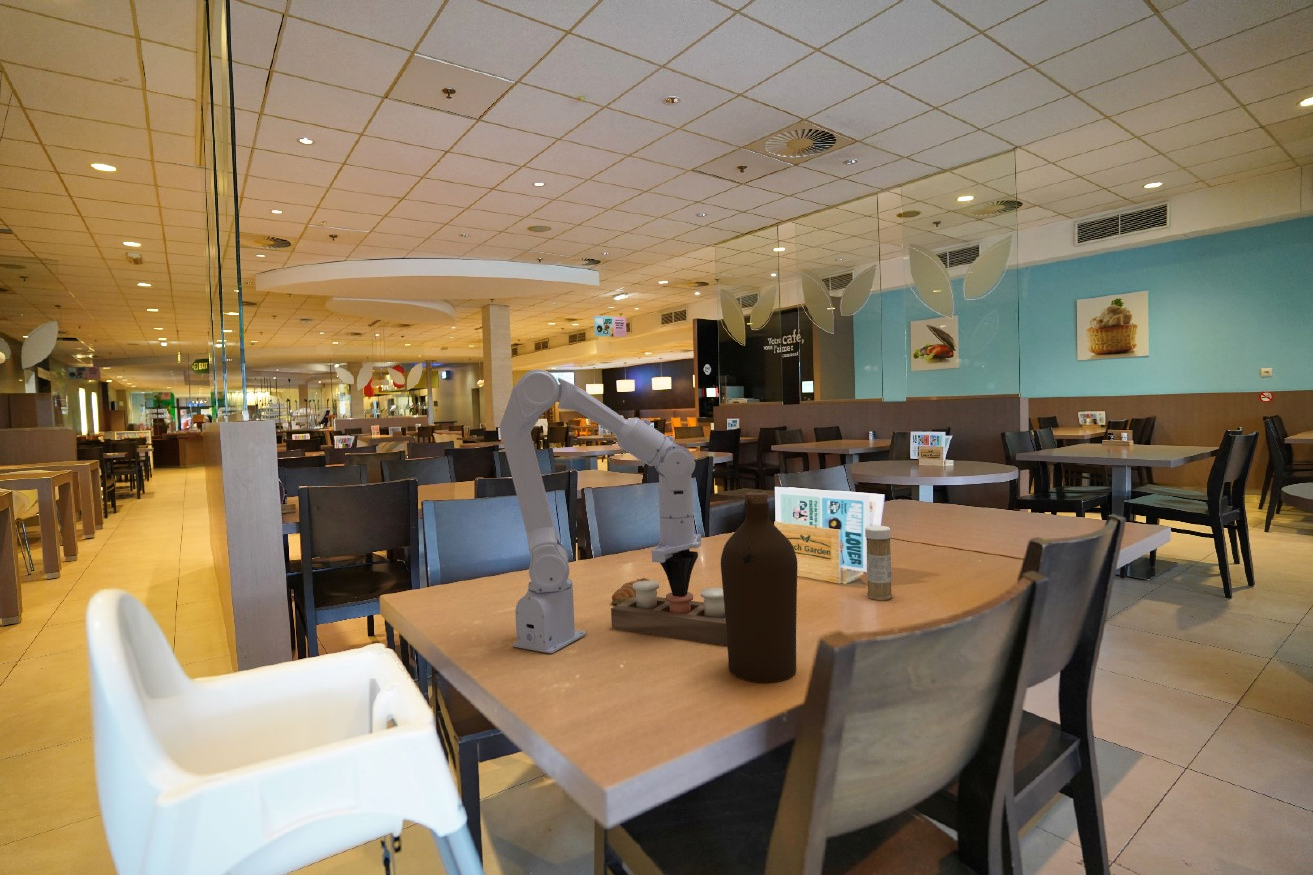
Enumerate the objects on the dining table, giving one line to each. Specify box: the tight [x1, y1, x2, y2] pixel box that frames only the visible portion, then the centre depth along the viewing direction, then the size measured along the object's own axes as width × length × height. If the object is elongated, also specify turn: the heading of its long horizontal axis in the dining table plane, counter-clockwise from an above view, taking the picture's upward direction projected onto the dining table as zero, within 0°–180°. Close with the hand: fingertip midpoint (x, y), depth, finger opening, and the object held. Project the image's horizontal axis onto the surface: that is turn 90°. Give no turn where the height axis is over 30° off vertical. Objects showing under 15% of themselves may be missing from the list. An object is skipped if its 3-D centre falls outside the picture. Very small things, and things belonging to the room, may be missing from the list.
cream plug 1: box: [633, 580, 660, 609], centre depth 114 cm, size 5×5×4 cm
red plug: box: [665, 591, 694, 614], centre depth 111 cm, size 5×5×4 cm
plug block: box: [610, 596, 727, 647], centre depth 111 cm, size 9×22×4 cm, turn 61°
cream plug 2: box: [700, 587, 725, 618], centre depth 108 cm, size 5×5×4 cm
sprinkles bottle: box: [864, 525, 893, 601], centre depth 124 cm, size 5×5×14 cm
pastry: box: [611, 577, 652, 605], centre depth 129 cm, size 9×7×4 cm
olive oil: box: [720, 491, 798, 683], centre depth 92 cm, size 11×11×25 cm
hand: (679, 595), depth 111 cm, fingers closed, pressing on red plug
